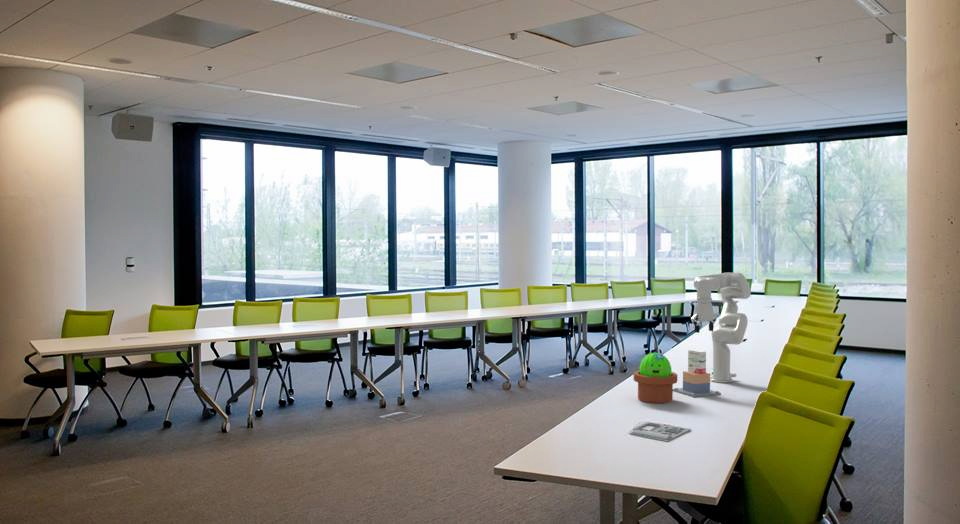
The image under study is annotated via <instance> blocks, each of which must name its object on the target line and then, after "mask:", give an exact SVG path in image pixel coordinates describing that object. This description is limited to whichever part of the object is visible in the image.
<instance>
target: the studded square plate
mask: <svg viewBox="0 0 960 524" xmlns="http://www.w3.org/2000/svg"><path fill="white" fill-rule="evenodd" d="M710 378H711V373H710V372H707V371H706V373H703V374H699V373H693V372H688V370H686V371H684V370H683V371H682V387H680V388H678V387H674V388H673V392H675V393H677V394H681V395H684V396H687V395H688V396H687V397H692V398H702V397H703V398H704V397H711V395H713V396H720V395H722V392H720V391H718V390H712V389H711V380H710Z"/></svg>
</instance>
